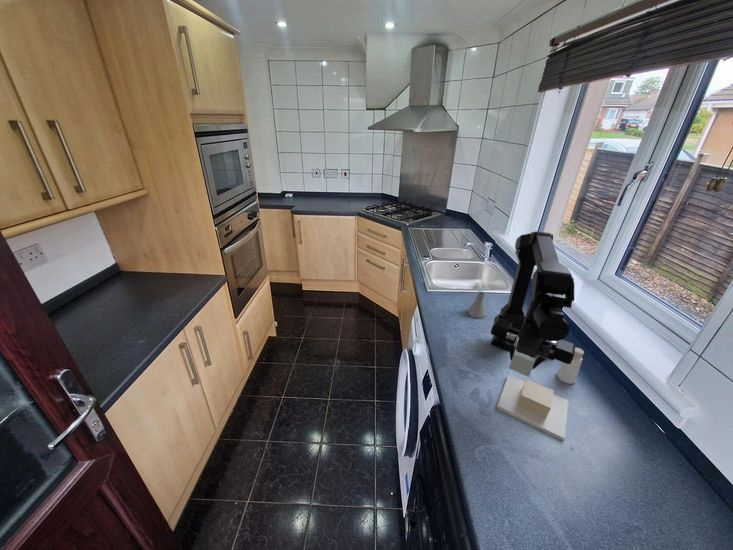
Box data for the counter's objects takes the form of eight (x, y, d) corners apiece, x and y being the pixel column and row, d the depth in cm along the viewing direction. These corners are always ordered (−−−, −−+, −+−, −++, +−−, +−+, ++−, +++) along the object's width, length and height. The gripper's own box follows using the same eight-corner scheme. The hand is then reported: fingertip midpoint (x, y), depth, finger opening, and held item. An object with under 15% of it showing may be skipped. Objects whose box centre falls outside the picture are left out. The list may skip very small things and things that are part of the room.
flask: (489, 317, 121) (495, 296, 116) (475, 320, 118) (480, 299, 114) (477, 307, 127) (482, 287, 122) (463, 310, 124) (468, 290, 120)
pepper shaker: (573, 373, 94) (586, 346, 89) (578, 386, 90) (592, 358, 85) (554, 369, 96) (566, 342, 91) (557, 381, 91) (570, 353, 86)
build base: (507, 377, 92) (511, 364, 90) (567, 402, 84) (573, 390, 82) (496, 408, 82) (500, 395, 79) (563, 441, 74) (570, 427, 71)
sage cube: (512, 358, 84) (517, 344, 82) (532, 366, 82) (537, 352, 80) (508, 368, 81) (513, 354, 78) (528, 377, 78) (534, 362, 76)
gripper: (491, 316, 73) (478, 365, 80) (582, 348, 63) (557, 400, 70) (503, 298, 81) (490, 343, 88) (584, 324, 71) (562, 373, 78)
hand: (522, 363), depth 81 cm, fingers closed on sage cube, 5 cm apart
